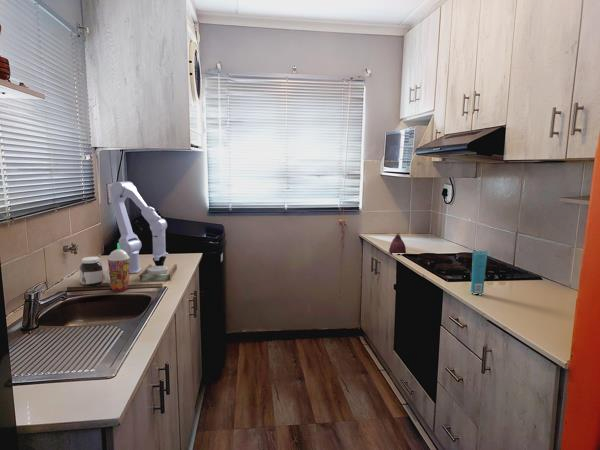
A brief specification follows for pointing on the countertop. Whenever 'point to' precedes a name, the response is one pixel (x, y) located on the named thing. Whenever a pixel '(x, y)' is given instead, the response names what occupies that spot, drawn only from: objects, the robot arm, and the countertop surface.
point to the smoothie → (119, 269)
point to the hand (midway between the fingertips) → (159, 271)
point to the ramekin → (157, 270)
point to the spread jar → (92, 272)
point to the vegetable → (397, 245)
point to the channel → (157, 275)
